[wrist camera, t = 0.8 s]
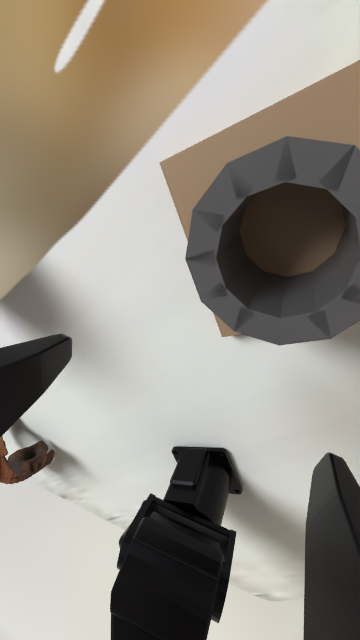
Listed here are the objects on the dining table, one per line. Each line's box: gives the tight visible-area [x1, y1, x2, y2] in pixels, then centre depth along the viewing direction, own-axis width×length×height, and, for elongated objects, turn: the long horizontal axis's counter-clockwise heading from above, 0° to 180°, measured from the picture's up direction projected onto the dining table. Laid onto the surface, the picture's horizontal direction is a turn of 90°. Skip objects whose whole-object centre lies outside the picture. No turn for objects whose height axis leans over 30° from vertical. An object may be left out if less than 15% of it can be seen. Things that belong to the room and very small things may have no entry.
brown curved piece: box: [0, 436, 54, 484], centre depth 43 cm, size 12×10×8 cm
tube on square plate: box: [160, 60, 360, 345], centre depth 16 cm, size 13×13×7 cm
